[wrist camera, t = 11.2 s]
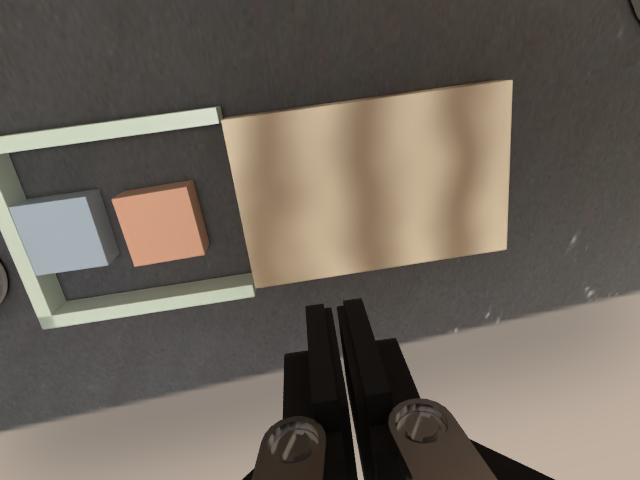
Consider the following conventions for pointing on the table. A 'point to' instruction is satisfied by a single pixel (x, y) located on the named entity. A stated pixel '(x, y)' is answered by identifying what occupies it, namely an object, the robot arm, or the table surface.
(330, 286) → the table surface
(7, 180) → the u-shaped frame
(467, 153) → the wooden cutting board
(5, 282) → the pill bottle
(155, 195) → the terracotta tile
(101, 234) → the slate tile
